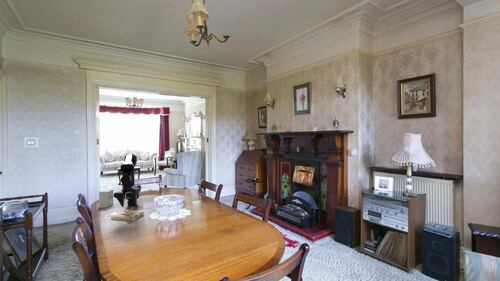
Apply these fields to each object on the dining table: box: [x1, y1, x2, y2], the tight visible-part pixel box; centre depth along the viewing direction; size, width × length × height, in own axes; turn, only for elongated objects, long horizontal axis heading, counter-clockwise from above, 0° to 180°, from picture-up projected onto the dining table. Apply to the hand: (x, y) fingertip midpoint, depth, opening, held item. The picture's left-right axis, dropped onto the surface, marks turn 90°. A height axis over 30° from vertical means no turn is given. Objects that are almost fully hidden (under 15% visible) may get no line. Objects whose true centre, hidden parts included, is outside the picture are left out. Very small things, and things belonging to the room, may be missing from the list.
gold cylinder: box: [124, 209, 132, 216], centre depth 166 cm, size 4×4×5 cm
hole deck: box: [110, 210, 145, 223], centre depth 166 cm, size 14×14×3 cm
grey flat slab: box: [104, 211, 122, 217], centre depth 171 cm, size 9×7×1 cm
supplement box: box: [98, 189, 114, 209], centre depth 194 cm, size 7×7×13 cm
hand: (127, 205), depth 165 cm, fingers open, 9 cm apart
